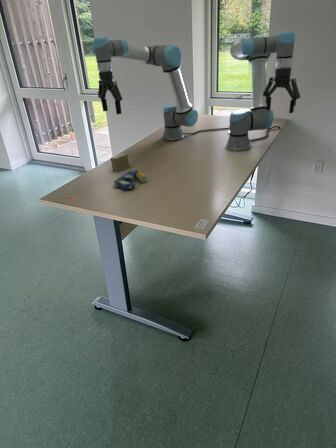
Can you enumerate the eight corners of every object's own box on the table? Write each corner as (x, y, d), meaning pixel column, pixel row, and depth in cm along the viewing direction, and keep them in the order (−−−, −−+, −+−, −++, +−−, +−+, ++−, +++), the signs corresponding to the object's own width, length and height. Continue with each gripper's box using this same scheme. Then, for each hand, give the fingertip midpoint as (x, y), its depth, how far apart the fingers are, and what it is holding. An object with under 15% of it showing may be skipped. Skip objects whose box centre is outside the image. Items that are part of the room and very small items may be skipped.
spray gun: (153, 176, 189) (130, 173, 195) (152, 169, 186) (129, 167, 193) (134, 192, 173) (110, 189, 180) (133, 185, 171) (109, 182, 177)
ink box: (126, 165, 207) (124, 152, 203) (129, 167, 205) (127, 154, 200) (112, 170, 202) (110, 157, 198) (116, 172, 199) (113, 159, 195)
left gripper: (87, 71, 181) (94, 111, 192) (112, 73, 165) (119, 116, 176) (99, 69, 185) (105, 108, 196) (125, 70, 169) (130, 113, 180)
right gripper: (257, 67, 172) (255, 110, 183) (303, 69, 155) (297, 115, 166) (266, 65, 176) (263, 107, 187) (311, 67, 159) (305, 112, 170)
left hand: (112, 112), depth 186 cm, fingers open, 13 cm apart
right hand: (279, 111), depth 176 cm, fingers open, 13 cm apart
